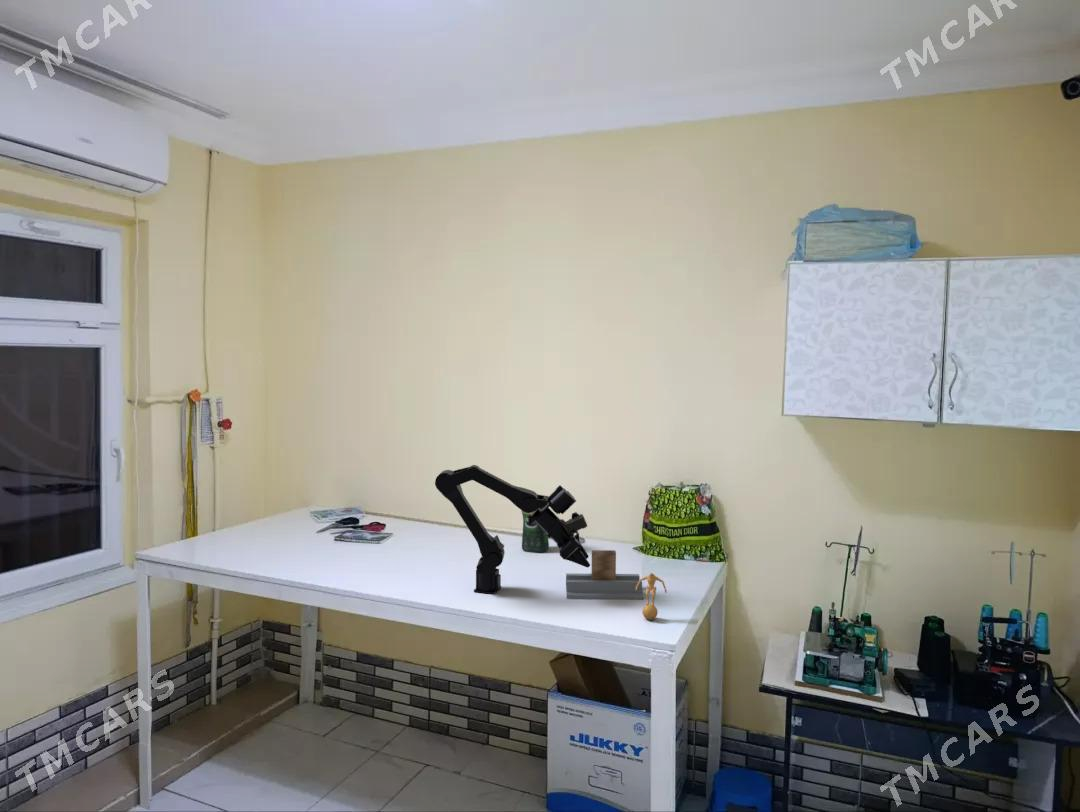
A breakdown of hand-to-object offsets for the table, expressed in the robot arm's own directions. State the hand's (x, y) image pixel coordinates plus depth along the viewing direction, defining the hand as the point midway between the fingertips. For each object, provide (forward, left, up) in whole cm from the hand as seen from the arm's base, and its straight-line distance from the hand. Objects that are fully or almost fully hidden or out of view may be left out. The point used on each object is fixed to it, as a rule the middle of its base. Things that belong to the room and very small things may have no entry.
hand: (588, 562), depth 214 cm
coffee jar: (-30, +39, -9) cm, 50 cm away
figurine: (+21, -17, -9) cm, 28 cm away
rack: (+4, +1, -9) cm, 10 cm away
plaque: (+4, +1, -8) cm, 9 cm away
